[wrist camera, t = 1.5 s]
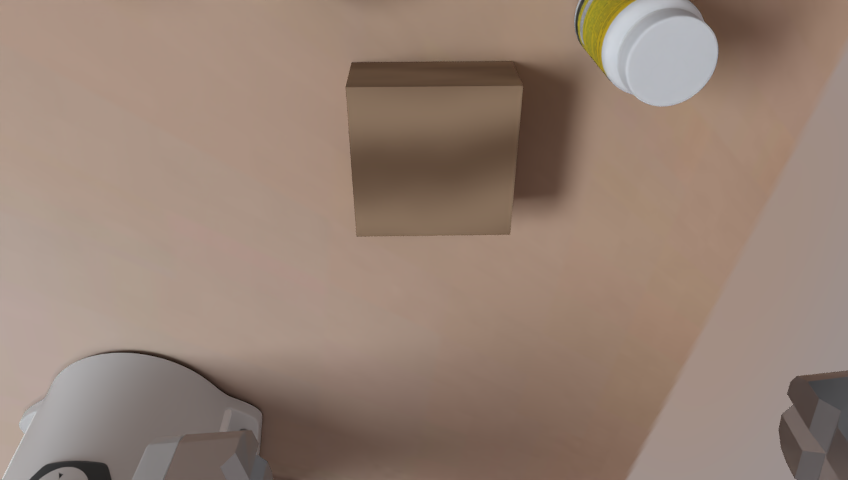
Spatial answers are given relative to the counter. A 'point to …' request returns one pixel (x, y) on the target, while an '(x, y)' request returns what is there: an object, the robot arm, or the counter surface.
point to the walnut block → (433, 146)
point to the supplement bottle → (649, 46)
